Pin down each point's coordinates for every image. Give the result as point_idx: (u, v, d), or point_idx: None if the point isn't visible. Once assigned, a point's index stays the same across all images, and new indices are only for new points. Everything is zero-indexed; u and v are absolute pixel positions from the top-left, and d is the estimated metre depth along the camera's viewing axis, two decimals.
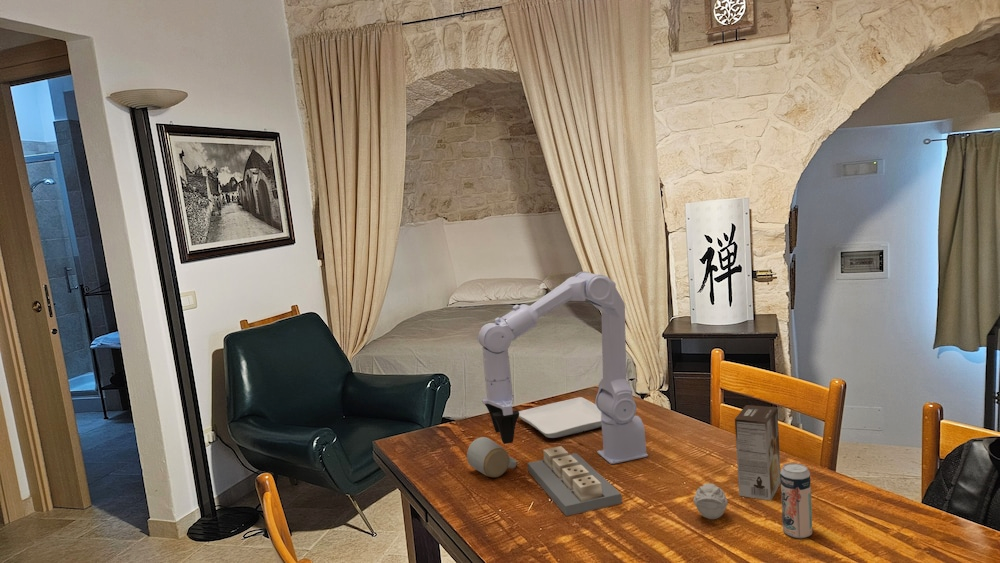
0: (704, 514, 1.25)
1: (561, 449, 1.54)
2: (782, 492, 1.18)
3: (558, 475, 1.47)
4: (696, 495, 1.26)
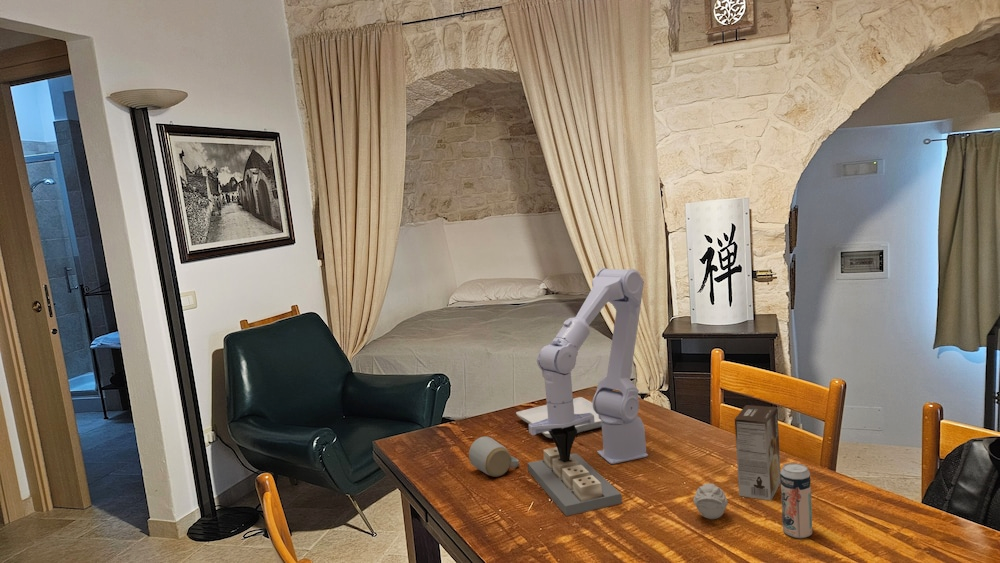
0: (704, 514, 1.25)
1: None
2: (782, 492, 1.18)
3: (558, 475, 1.47)
4: (696, 495, 1.26)
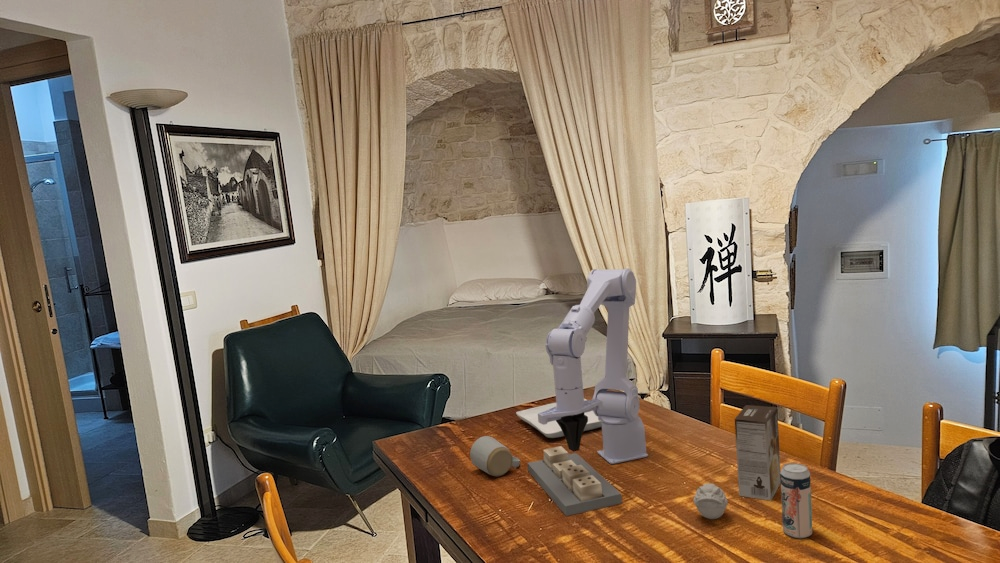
0: (704, 514, 1.25)
1: (561, 449, 1.54)
2: (782, 492, 1.18)
3: None
4: (696, 495, 1.26)
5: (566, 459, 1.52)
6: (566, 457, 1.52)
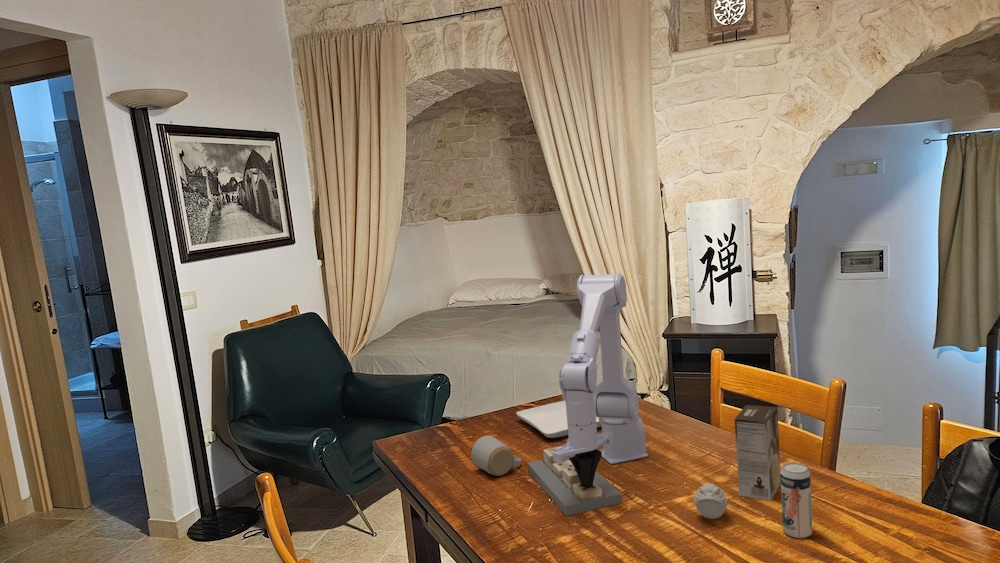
0: (704, 514, 1.25)
1: None
2: (782, 492, 1.18)
3: None
4: (696, 495, 1.26)
5: (566, 459, 1.52)
6: None
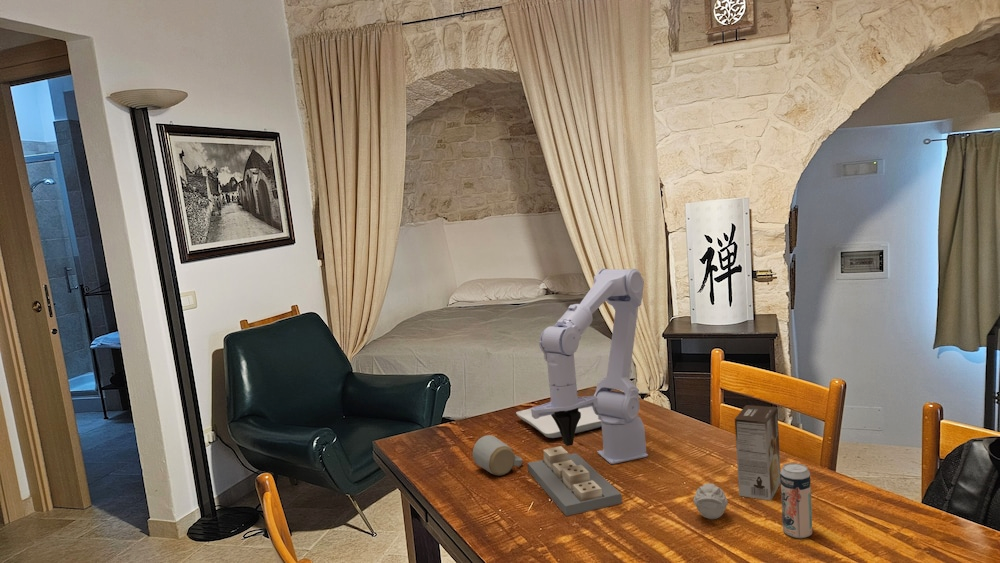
0: (704, 514, 1.25)
1: (561, 449, 1.54)
2: (782, 492, 1.18)
3: None
4: (696, 495, 1.26)
5: (566, 459, 1.52)
6: (566, 457, 1.52)
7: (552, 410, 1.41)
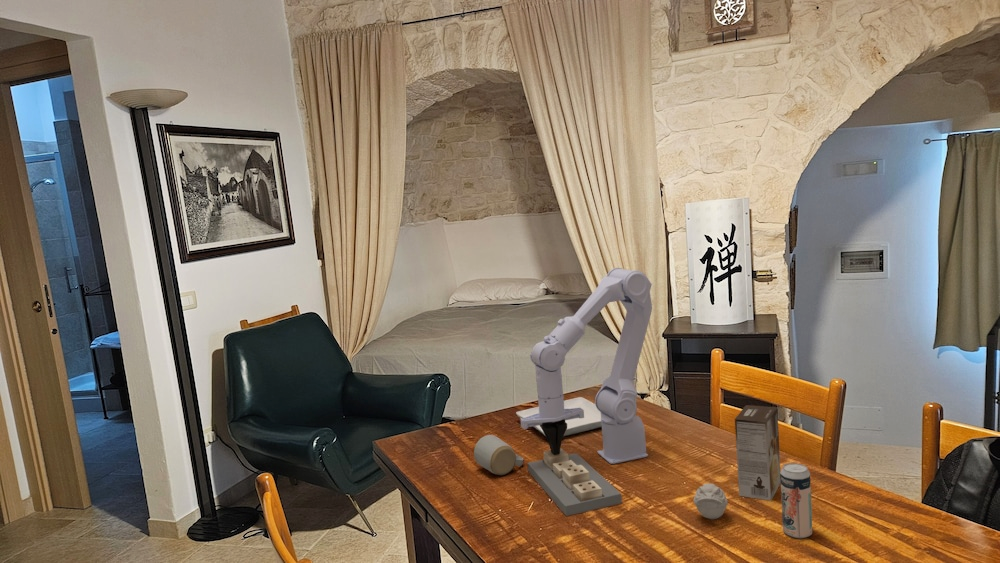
0: (704, 514, 1.25)
1: (561, 452, 1.54)
2: (782, 492, 1.18)
3: None
4: (696, 495, 1.26)
5: None
6: (566, 459, 1.52)
7: (540, 421, 1.50)
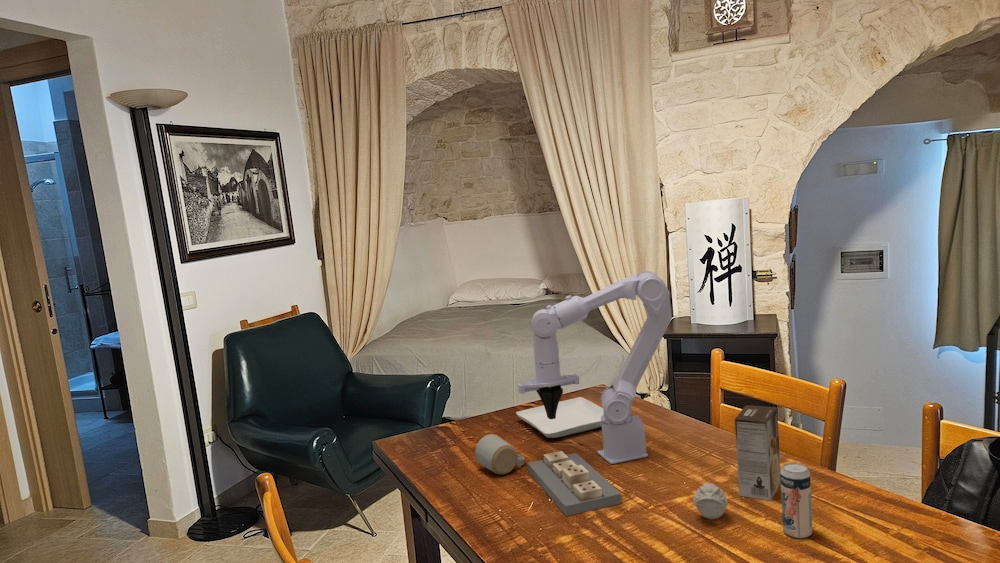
0: (704, 514, 1.25)
1: (561, 454, 1.54)
2: (782, 492, 1.18)
3: None
4: (696, 495, 1.26)
5: None
6: None
7: (536, 386, 1.56)
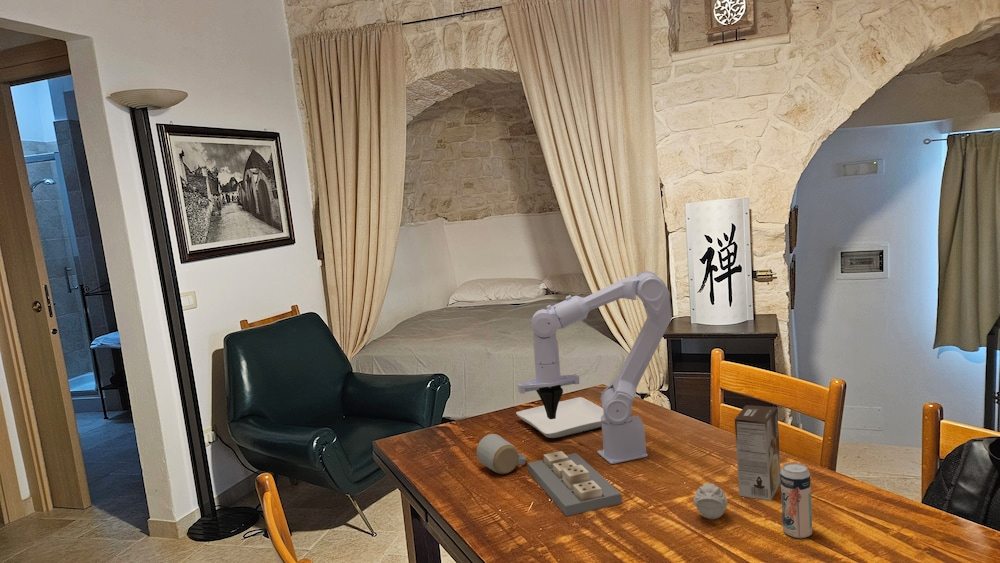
0: (704, 514, 1.25)
1: (561, 454, 1.54)
2: (782, 492, 1.18)
3: None
4: (696, 495, 1.26)
5: None
6: None
7: (536, 386, 1.56)
